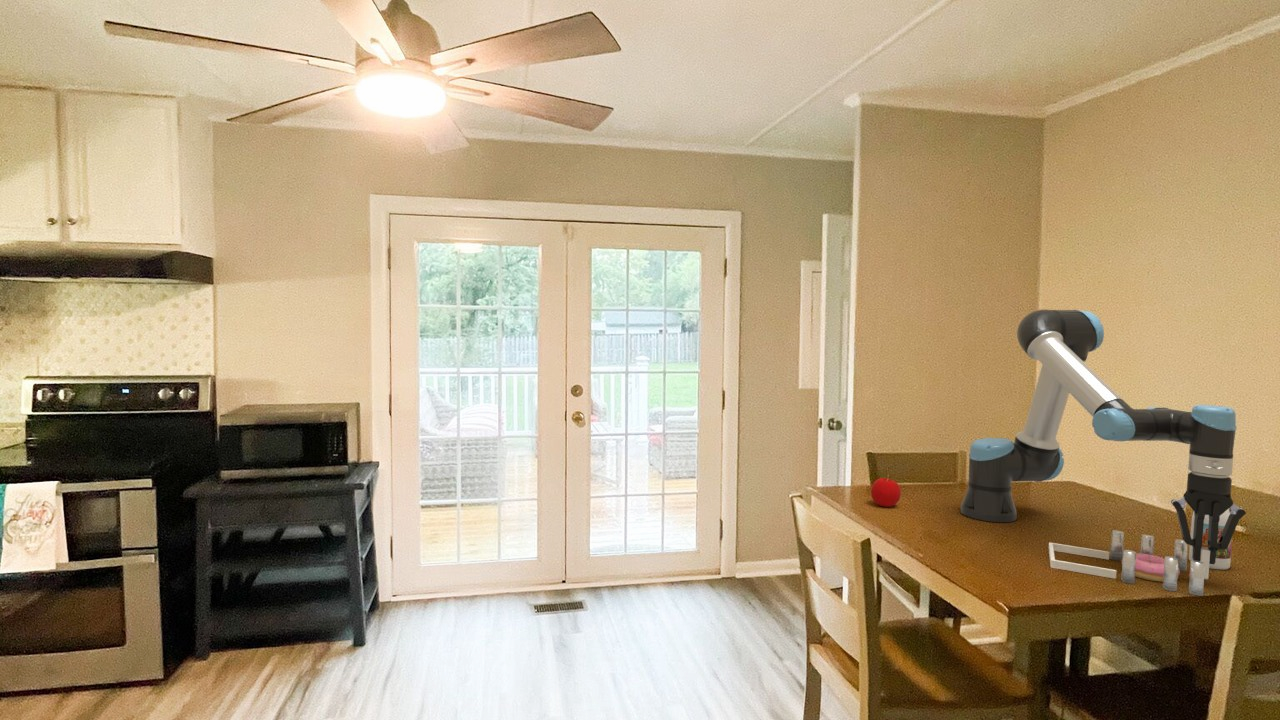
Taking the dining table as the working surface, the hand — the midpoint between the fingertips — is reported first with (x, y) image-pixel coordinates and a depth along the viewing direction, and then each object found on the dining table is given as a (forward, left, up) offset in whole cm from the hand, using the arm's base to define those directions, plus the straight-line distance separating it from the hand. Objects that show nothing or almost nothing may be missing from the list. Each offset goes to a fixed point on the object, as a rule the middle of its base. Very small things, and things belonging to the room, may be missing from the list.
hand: (1202, 576), depth 149 cm
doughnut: (-9, 0, -2) cm, 10 cm away
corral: (-22, 0, -2) cm, 22 cm away
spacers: (-9, 0, -2) cm, 9 cm away
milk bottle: (+4, +17, -2) cm, 18 cm away
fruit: (-74, +28, -2) cm, 79 cm away
